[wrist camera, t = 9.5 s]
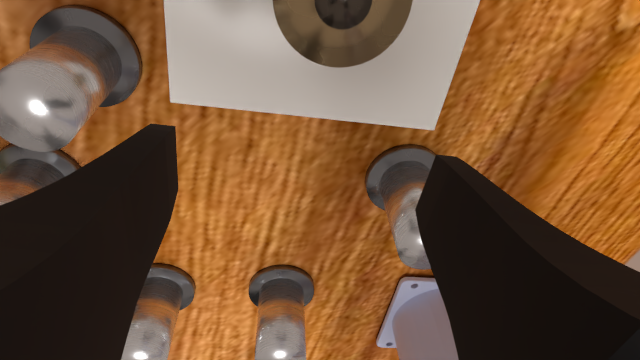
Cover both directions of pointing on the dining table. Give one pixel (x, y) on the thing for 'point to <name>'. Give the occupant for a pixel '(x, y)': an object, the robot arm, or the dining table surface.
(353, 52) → the brown metallic cylinder
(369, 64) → the ceramic tile
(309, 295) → the spacer field
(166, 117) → the dining table surface
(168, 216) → the robot arm
